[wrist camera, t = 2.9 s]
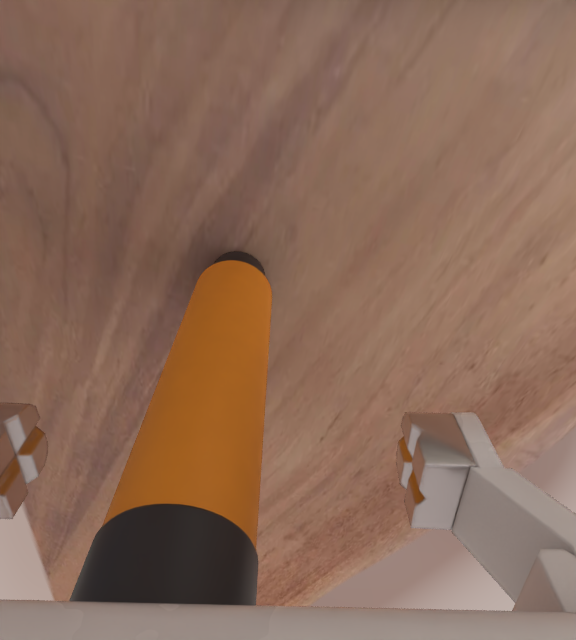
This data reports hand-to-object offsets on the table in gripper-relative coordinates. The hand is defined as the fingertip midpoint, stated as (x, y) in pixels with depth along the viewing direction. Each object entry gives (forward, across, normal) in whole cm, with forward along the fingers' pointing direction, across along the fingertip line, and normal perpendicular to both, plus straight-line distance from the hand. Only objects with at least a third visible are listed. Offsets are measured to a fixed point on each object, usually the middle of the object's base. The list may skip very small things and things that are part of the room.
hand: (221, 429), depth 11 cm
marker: (+8, 0, 0) cm, 8 cm away
